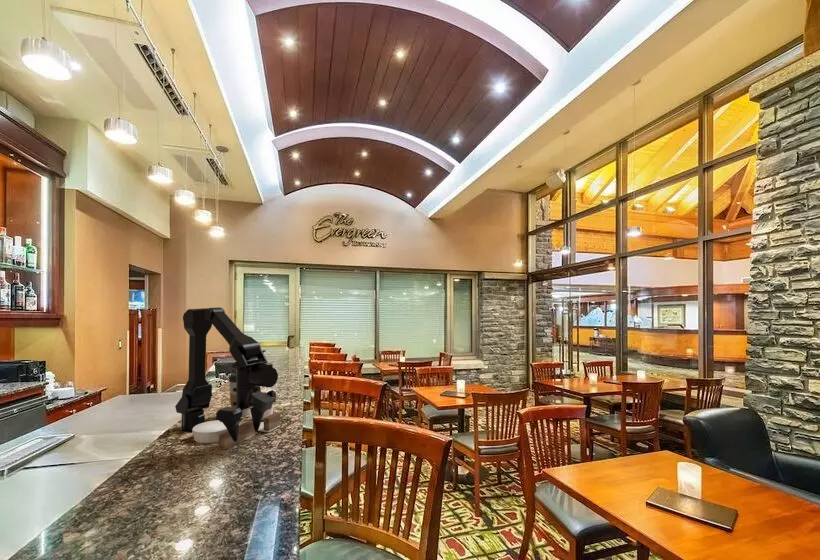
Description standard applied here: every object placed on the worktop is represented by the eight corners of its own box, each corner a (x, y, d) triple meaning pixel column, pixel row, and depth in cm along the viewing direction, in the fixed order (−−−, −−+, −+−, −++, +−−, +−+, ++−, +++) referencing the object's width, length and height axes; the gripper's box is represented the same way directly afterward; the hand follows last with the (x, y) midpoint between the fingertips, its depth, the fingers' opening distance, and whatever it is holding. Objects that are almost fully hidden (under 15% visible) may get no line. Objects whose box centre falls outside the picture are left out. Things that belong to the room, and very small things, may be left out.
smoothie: (278, 415, 149) (279, 377, 150) (271, 421, 143) (271, 381, 143) (262, 415, 150) (262, 377, 150) (253, 421, 144) (253, 381, 144)
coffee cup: (247, 409, 157) (247, 370, 157) (256, 414, 151) (256, 373, 151) (224, 414, 151) (225, 373, 151) (233, 419, 145) (234, 377, 146)
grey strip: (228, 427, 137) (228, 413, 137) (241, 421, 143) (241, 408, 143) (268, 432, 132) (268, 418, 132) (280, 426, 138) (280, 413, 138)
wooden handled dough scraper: (180, 444, 122) (180, 429, 122) (214, 429, 134) (214, 416, 135) (224, 450, 117) (224, 435, 117) (254, 435, 130) (254, 421, 130)
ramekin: (236, 444, 125) (236, 427, 125) (195, 453, 118) (194, 435, 119) (228, 433, 134) (228, 417, 134) (190, 441, 128) (190, 424, 128)
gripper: (247, 393, 112) (247, 451, 111) (288, 378, 129) (287, 428, 129) (214, 390, 115) (214, 446, 115) (258, 376, 133) (258, 424, 133)
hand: (246, 435), depth 123 cm, fingers open, 9 cm apart
